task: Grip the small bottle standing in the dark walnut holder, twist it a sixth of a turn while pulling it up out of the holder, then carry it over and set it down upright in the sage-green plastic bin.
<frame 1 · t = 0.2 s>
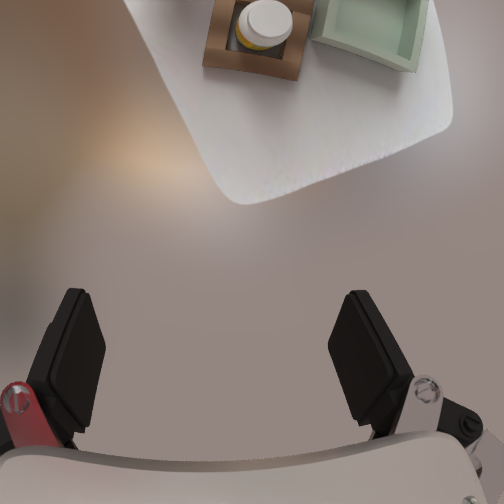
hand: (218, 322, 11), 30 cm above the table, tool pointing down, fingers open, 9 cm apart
bin: (365, 13, 28), on the table
supplement bottle: (256, 31, 29), resting in holder
holder: (257, 31, 29), on the table
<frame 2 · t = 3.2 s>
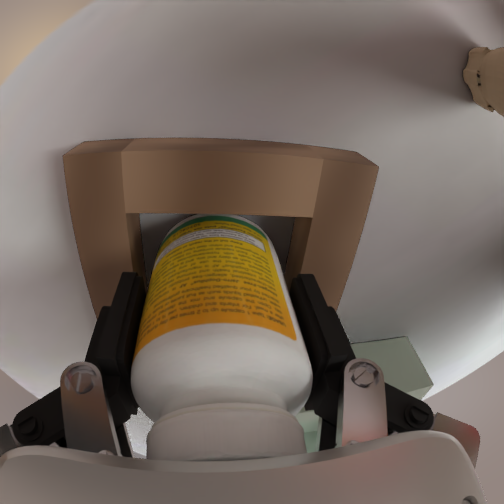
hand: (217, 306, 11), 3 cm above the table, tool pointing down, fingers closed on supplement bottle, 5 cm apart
bin: (303, 397, 22), on the table
supplement bottle: (215, 258, 14), resting in holder, touching gripper
holder: (215, 260, 14), on the table
handle: (477, 75, 10), on the table
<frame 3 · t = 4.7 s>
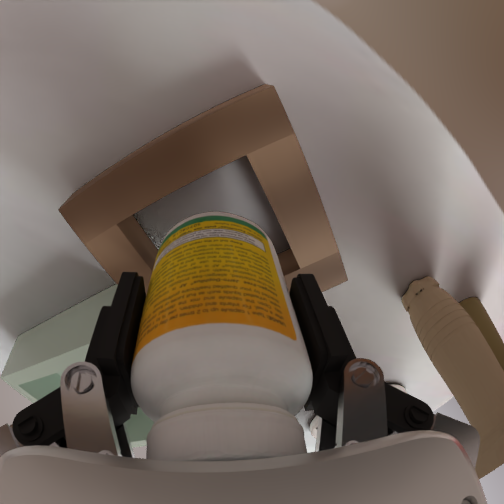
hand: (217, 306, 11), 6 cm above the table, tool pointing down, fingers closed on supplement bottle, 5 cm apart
bin: (115, 365, 22), on the table
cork: (457, 318, 25), on the table
supplement bottle: (215, 258, 14), point 3 cm above the table, touching gripper
holder: (211, 227, 16), on the table
handle: (416, 289, 21), on the table
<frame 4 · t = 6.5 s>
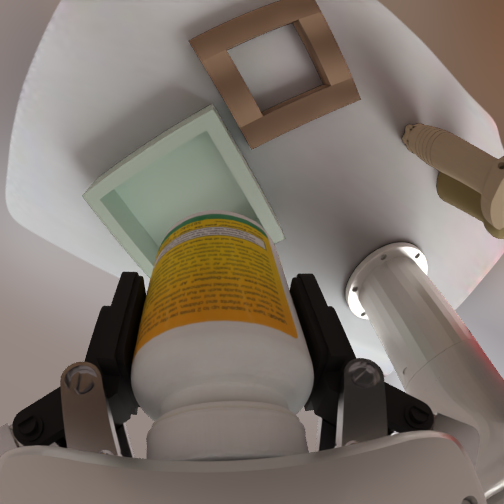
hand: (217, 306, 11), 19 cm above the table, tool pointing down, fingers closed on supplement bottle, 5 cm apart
bin: (187, 195, 29), on the table
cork: (452, 179, 31), on the table
supplement bottle: (216, 256, 14), point 16 cm above the table, touching gripper
holder: (276, 66, 23), on the table
handle: (411, 135, 28), on the table
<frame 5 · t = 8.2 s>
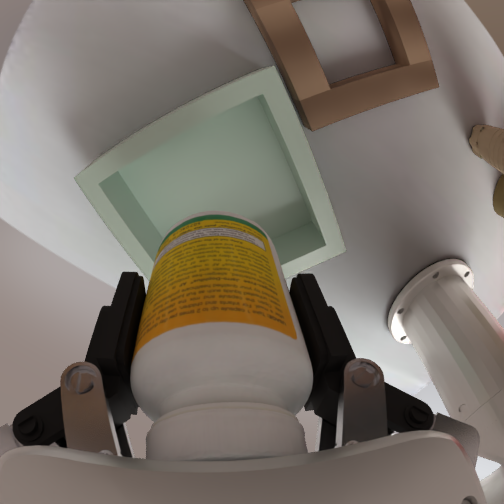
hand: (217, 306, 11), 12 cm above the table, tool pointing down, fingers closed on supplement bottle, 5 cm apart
bin: (217, 187, 22), on the table
supplement bottle: (215, 257, 14), point 9 cm above the table, touching gripper
holder: (343, 33, 16), on the table
handle: (476, 137, 21), on the table
when the fingers open (6 cm above the table, at t = 9.7 s): supplement bottle drops 2 cm, resting on bin.
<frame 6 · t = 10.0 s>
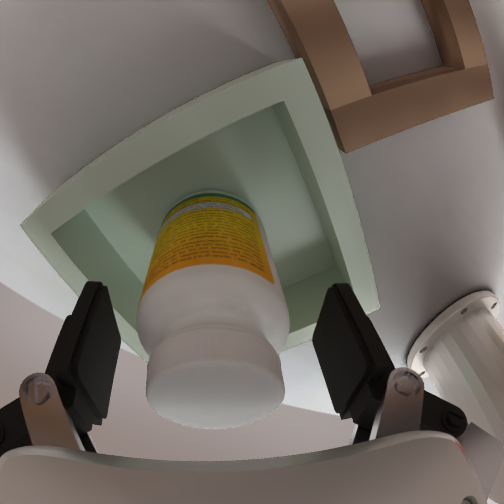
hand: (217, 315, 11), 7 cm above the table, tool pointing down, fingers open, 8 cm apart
bin: (214, 224, 17), on the table
supplement bottle: (211, 232, 16), point 1 cm above the table, touching bin
holder: (383, 21, 11), on the table
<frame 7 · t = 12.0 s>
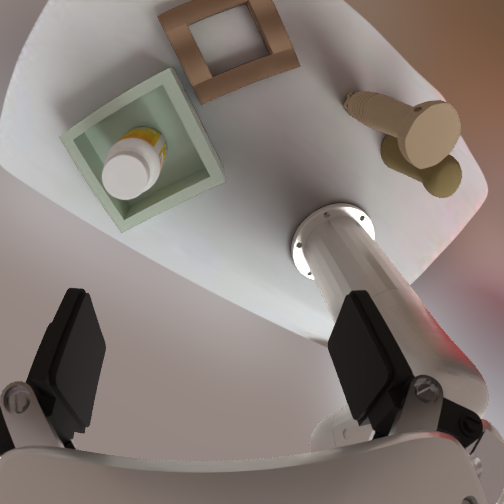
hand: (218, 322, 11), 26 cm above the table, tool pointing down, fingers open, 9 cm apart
bin: (146, 145, 31), on the table
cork: (398, 148, 36), on the table
supplement bottle: (144, 147, 31), point 1 cm above the table, touching bin
holder: (228, 39, 26), on the table
handle: (353, 103, 32), on the table
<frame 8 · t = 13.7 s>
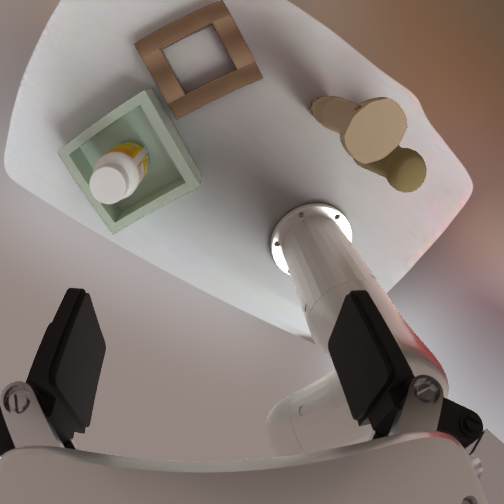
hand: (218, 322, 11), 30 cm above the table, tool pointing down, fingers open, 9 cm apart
bin: (133, 156, 36), on the table
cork: (370, 148, 39), on the table
supplement bottle: (130, 158, 35), point 1 cm above the table, touching bin
holder: (198, 58, 30), on the table
handle: (320, 107, 35), on the table
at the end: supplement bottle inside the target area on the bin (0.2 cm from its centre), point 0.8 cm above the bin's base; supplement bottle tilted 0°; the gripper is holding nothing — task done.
